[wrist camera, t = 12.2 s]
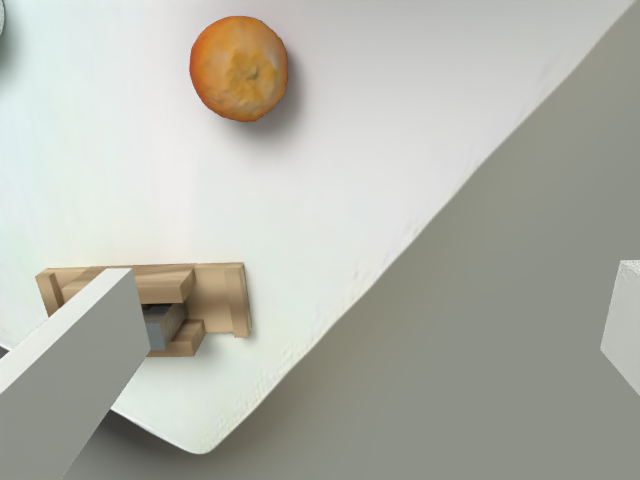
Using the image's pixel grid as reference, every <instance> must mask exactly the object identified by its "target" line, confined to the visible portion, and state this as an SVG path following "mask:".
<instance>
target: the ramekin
mask: <svg viewBox="0 0 640 480" xmlns="http://www.w3.org/2000/svg"><path fill="white" fill-rule="evenodd" d="M3 25H4V7H3V2H2V0H0V35H1V33H2V30H3Z"/></svg>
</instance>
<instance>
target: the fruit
mask: <svg viewBox="0 0 640 480" xmlns="http://www.w3.org/2000/svg"><path fill="white" fill-rule="evenodd" d="M189 71H190V76H191V80H192V83H193V86H194V88H195V90H196V92H197V94H198V96H199V97H200V99H201V100H202V102H203V103H204V104H205V105H206V106H207V107H208V108H209V109H211V110H212V111H214V112H215V113H217V114H218V115H220V116H221V117H225V118H229V119H232V120H237V121H241V122H248V121H250V122H254V121H256V120H258V119H259V118H261V117H262V116H263V115H264V114H266V113H267V112H268V111H270V110H271V109H272V108H273V107H274V106H275V105H276V104H277V103H278V102H279V101H280V99H281V98H282V97H283V96H284V94H285V89H286V85H287V81H288V74H287V53H286V49H285V47H284V44H283V42H282V40H281V39H280V38H279V37H278V36H277V34H276V33H275V32H274V31H273V30H271V29H270V28H269V27H268V26H267V25H266V24H264V23H263V22H262V21H260V20H258V19H255V18H251V17H245V16H231V17H226V18H223V19H221V20H218V21H216V22H214V23H213V24H211V25H209V26H208V27H207V28H206V29H205V30H204V31H203V32H202V33H201V34H200V35H199V37H198V38H197V40H196V41H195V43H194V45H193V47H192V50H191V56H190V68H189Z"/></svg>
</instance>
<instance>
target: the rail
mask: <svg viewBox="0 0 640 480" xmlns="http://www.w3.org/2000/svg"><path fill="white" fill-rule="evenodd" d="M106 268H132V269H133V274H134V278H135V282H136V287H137V291H138V295H139V300H140V304H141V308H142V310H150V309H151V307H152V306H153V305H154V304H155V303H183V302H184V300H185V302H186V307H187V312H188V315H187V317H186V318H185V320H184V321H183V323H182V325H181V326H180V328H179V329H178V331H177V332H176V334H175V335H174V337H173V339H172V340H171V342H170V343H169V345H168V346H167V348H166V349H165V350H150V351H149V353H148V354H147V356H146V357H181V356H194V355H195V353H196V351H197V349H198V347H199V345H200V344H201V342H202V340H203V338H204V336H205V334H206V333H224V332H234V337H248V336H249V333H250V331H251V328H252V324H251V317H250V310H249V303H248V296H247V289H246V282H245V275H244V267H243V263H212V264H165V265H133V266H100V267H81V268H49V269H46V270H44V271H43V272H41V273H40V274H38V275H37V276H35V278H36V281H37V284H38V287H39V290H40V293H41V296H42V299H43V302H44V305H45V308H46V311H47V314H48V317H50V316H51V315H53V314H54V313H55V312H56V311H57V310H58V309H60V308H61V307H62V306H63V305H64V304H65V303H67V302H68V301H69V300H70V299H71V298H72V297H74V296H75V295H76V294H77V293H78V292H79V291H81V290H82V289H83V288H84V287H85V286H86V285H88V284H89V283H90V282H91V281H92V280H93V279H95V278H96V277H97V276H98V275H99V274H100V273H102V272H103V271H104V270H105V269H106Z"/></svg>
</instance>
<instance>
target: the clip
mask: <svg viewBox="0 0 640 480" xmlns="http://www.w3.org/2000/svg"><path fill="white" fill-rule="evenodd" d="M142 313H143V317H144V321H145V326H146V330H147V334H148V339H149V343H150V347H151V350H165V349H166V348H167V346H168V345H169V343H170V342H171V340H172V339H173V337H174V335H175V334H176V332H177V331H178V329H179V328H180V326H181V325H182V323H183V321H184V320H185V318H186V317H187V315H188V312H187V307H186V302H185V300H184V302H183V303H155V304H154V305H153V306H152V307H151V309H150V310H142Z"/></svg>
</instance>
